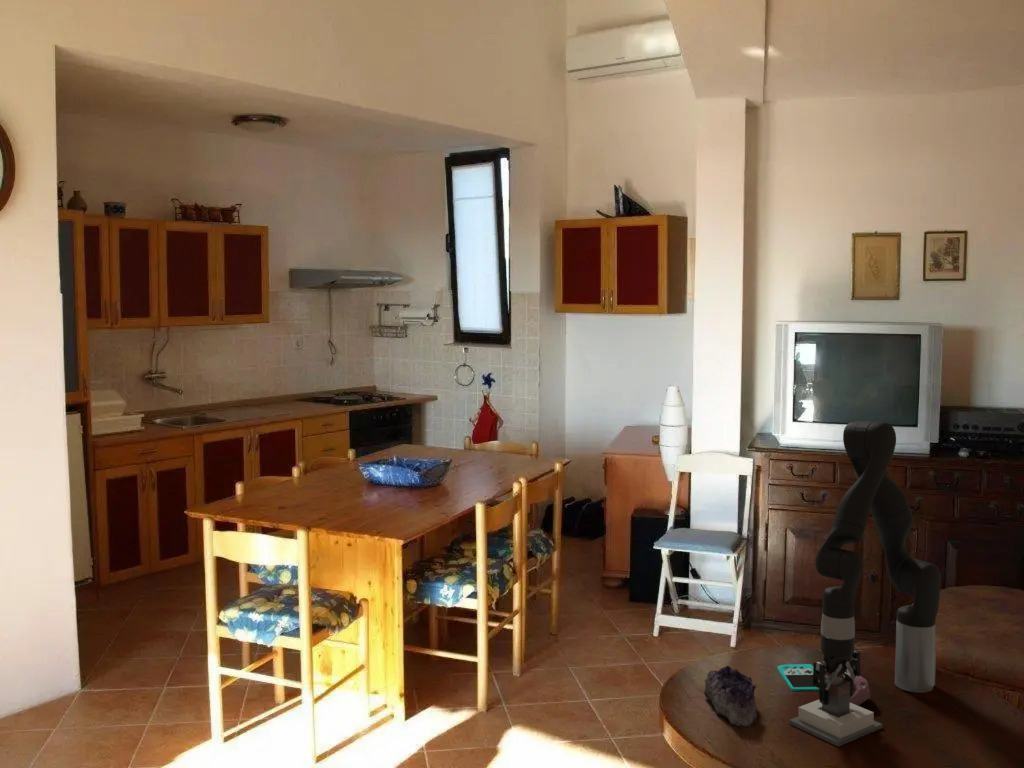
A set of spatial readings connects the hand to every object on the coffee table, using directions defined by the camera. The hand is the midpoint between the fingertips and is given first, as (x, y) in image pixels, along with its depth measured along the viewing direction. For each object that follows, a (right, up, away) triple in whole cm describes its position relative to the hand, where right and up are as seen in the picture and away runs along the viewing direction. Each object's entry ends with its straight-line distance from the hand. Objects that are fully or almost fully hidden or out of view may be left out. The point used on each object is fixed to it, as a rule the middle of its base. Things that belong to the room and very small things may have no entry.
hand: (836, 699), depth 230 cm
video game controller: (+9, -5, +14) cm, 18 cm away
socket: (0, -7, +1) cm, 7 cm away
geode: (-22, -6, +10) cm, 25 cm away
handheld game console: (0, -4, +29) cm, 29 cm away
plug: (0, -6, 0) cm, 6 cm away
